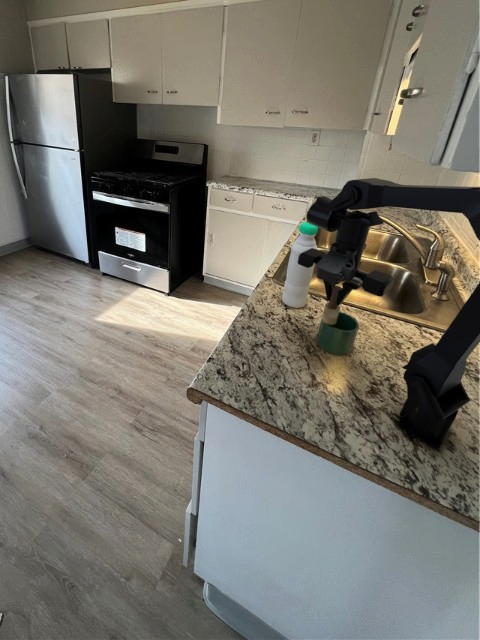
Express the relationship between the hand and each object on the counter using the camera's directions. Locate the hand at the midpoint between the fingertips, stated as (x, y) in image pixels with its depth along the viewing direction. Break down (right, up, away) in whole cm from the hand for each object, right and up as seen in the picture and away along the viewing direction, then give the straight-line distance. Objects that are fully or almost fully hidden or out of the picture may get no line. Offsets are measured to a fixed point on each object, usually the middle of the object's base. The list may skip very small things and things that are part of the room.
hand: (333, 302), depth 72 cm
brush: (0, -5, +2) cm, 5 cm away
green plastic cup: (+3, -11, +7) cm, 13 cm away
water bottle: (-2, -3, +23) cm, 23 cm away
